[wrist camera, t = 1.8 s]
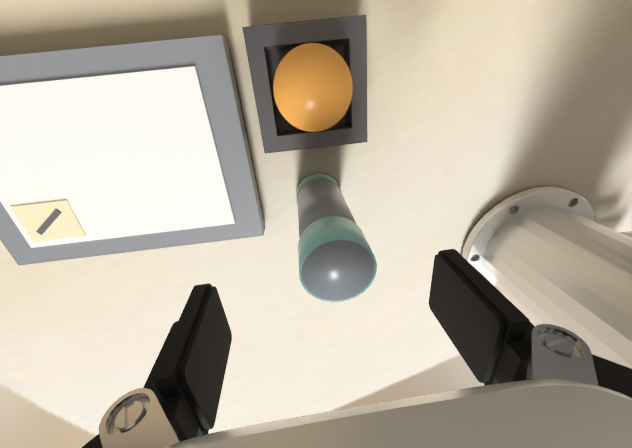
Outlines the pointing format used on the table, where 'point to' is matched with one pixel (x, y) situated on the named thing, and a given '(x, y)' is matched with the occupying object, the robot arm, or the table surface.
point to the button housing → (266, 55)
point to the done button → (313, 87)
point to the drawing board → (123, 150)
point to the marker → (331, 243)
